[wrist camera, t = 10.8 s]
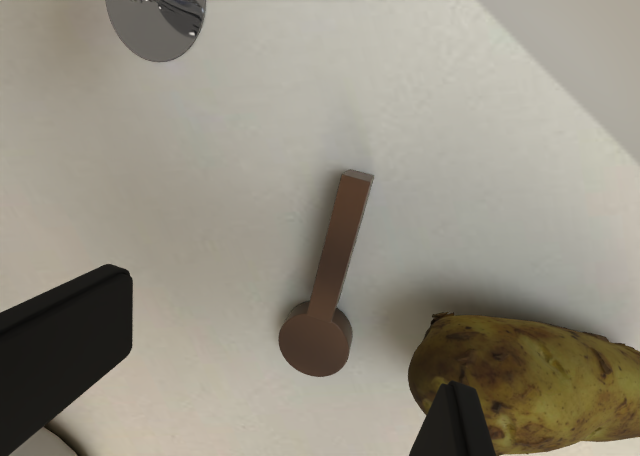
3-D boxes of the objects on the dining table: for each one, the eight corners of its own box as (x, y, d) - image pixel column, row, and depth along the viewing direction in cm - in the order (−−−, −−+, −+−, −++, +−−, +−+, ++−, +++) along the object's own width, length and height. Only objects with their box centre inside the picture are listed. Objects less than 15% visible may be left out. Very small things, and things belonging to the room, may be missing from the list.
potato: (554, 434, 21) (641, 597, 14) (387, 333, 22) (382, 434, 14) (657, 350, 18) (839, 497, 11) (460, 237, 19) (502, 301, 12)
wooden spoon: (323, 162, 20) (311, 166, 17) (401, 182, 19) (402, 190, 16) (281, 346, 24) (266, 374, 22) (342, 369, 24) (335, 400, 21)
